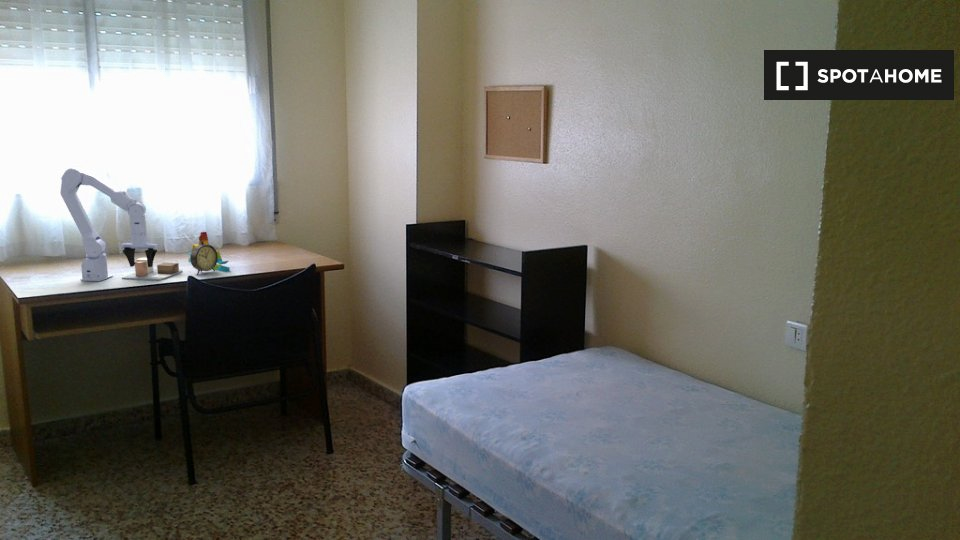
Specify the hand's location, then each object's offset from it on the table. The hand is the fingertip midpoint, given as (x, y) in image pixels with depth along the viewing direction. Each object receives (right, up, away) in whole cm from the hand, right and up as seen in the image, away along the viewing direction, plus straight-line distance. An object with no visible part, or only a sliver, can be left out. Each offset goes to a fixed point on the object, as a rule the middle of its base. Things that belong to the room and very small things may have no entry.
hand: (141, 266), depth 313 cm
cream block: (-2, -2, +8) cm, 8 cm away
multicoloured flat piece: (+18, 0, +25) cm, 31 cm away
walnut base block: (+8, -3, +8) cm, 11 cm away
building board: (+3, -4, +4) cm, 6 cm away
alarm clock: (+21, -3, +11) cm, 24 cm away
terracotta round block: (0, -4, +1) cm, 4 cm away
